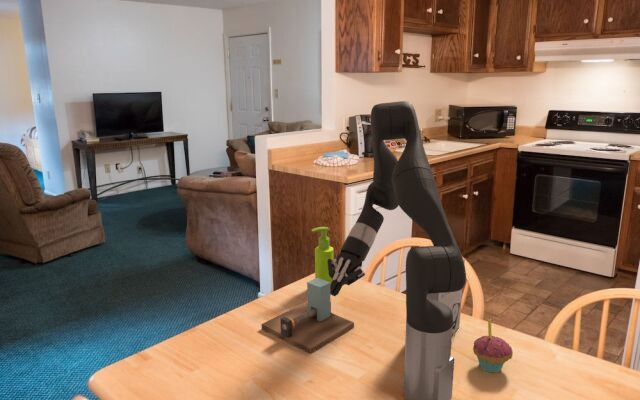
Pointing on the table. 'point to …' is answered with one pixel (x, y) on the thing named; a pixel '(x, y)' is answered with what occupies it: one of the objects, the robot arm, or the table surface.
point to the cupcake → (492, 351)
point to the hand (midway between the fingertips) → (331, 294)
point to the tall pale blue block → (319, 298)
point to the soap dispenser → (323, 255)
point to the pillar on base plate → (307, 328)
